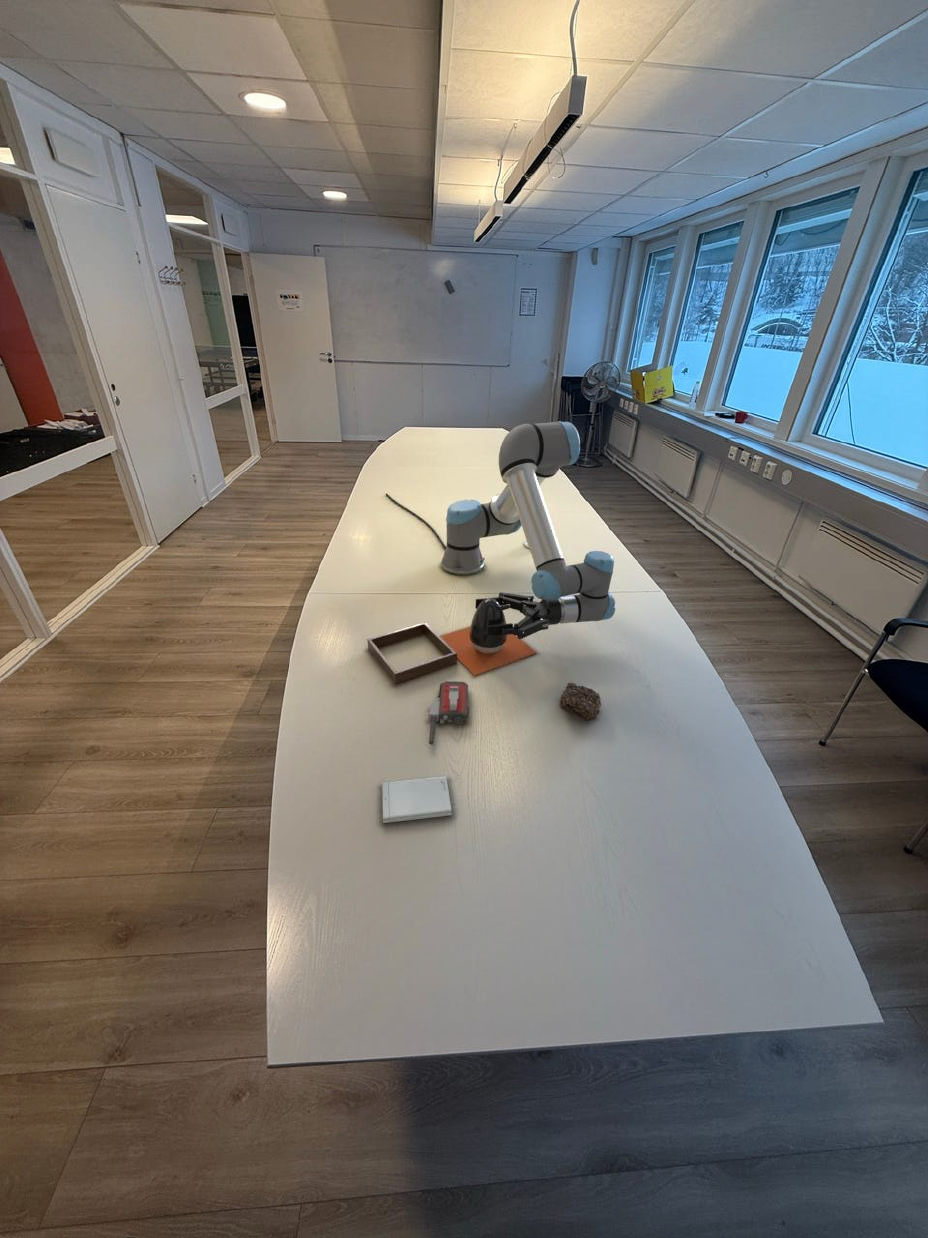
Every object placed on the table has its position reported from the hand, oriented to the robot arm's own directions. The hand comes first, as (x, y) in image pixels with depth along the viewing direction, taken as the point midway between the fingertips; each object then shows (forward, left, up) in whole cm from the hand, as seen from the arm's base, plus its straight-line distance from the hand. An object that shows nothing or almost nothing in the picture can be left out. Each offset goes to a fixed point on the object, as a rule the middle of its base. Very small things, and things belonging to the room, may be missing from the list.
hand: (481, 616), depth 131 cm
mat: (-1, +2, -11) cm, 11 cm away
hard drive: (+36, -38, -11) cm, 53 cm away
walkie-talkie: (+19, -21, -11) cm, 30 cm away
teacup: (-49, +59, -11) cm, 78 cm away
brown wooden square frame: (-6, -18, -11) cm, 21 cm away
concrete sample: (+32, +7, -11) cm, 34 cm away
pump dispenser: (+1, +2, -10) cm, 11 cm away
